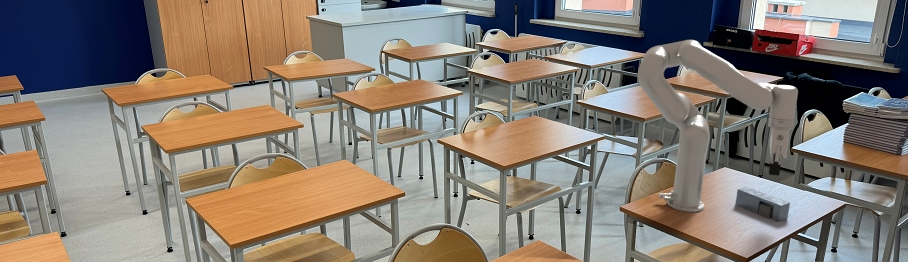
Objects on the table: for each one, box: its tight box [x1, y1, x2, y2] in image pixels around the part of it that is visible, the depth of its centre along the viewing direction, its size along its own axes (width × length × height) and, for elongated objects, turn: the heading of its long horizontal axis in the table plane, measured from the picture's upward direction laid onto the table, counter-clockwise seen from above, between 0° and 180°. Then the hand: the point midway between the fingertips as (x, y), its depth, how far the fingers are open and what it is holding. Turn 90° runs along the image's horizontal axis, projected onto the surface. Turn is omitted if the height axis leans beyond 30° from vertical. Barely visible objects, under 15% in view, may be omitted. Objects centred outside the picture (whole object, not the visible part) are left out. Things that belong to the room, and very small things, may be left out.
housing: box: [734, 186, 791, 223], centre depth 228 cm, size 5×17×6 cm, turn 30°
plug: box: [757, 197, 788, 220], centre depth 227 cm, size 11×4×4 cm, turn 122°
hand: (773, 174), depth 220 cm, fingers closed
